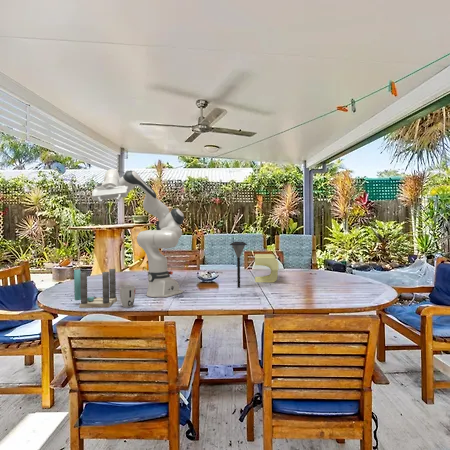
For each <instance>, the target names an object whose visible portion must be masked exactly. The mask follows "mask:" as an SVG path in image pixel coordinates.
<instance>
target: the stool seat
mask: <svg viewBox="0 0 450 450" xmlns="http://www.w3.org/2000/svg"><path fill="white" fill-rule="evenodd" d="M108 270H109V271H103V272H102V277H101V278H102V297H101V296H99V297H97V296H93V297H94V300H93V301H88V300H87V298H88V272H86V271H84V272H83V271H81V273H80V280H81V300H80V303H79V304H78V305H79V308H80V309H93V308H95V309H100V308H103V309H105V308H110V307H112V305H114V304H115V303H116V302H118V297H117V295H116V293H117V292H116V291H117V289H116V287H117V286H116V285H117V284H116V283H117V282H116V268H109V269H108Z"/></svg>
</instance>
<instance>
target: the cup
mask: <svg viewBox="0 0 450 450" xmlns="http://www.w3.org/2000/svg"><path fill="white" fill-rule="evenodd" d="M119 298H120V303H121V305H122V307H123V308H125V309H126V308H133V307H134V303H135V298H136V286H134V285H124V286H120V287H119Z"/></svg>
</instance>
